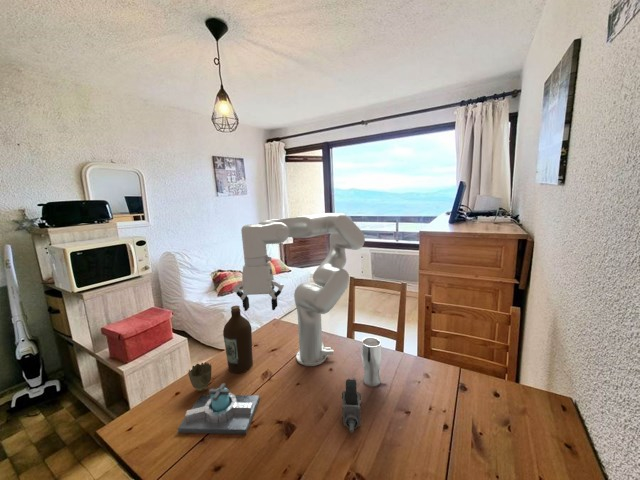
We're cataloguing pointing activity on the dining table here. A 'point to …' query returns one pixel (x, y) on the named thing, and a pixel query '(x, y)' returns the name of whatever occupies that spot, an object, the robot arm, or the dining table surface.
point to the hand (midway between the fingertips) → (260, 308)
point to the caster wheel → (351, 406)
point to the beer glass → (371, 360)
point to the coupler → (220, 398)
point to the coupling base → (224, 426)
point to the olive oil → (238, 342)
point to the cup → (200, 376)
